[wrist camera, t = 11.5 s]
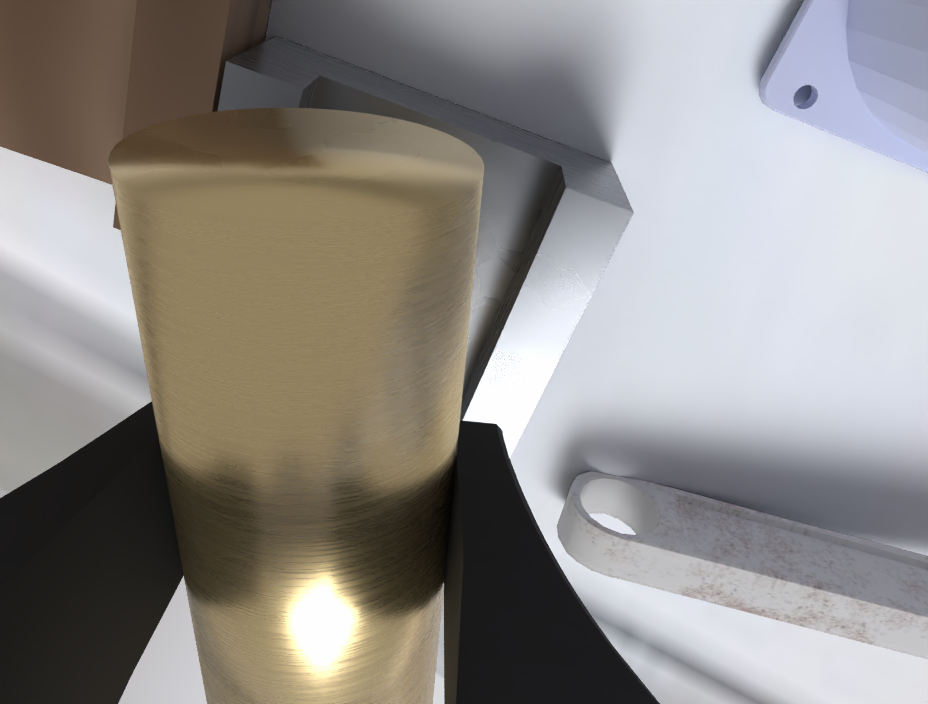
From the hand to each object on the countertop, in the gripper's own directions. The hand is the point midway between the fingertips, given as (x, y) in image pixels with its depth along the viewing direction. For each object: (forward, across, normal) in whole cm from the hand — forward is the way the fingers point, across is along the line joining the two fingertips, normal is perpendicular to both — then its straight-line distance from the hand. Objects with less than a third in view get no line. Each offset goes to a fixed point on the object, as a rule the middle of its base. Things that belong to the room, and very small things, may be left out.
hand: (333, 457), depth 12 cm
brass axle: (-1, 0, +1) cm, 1 cm away
